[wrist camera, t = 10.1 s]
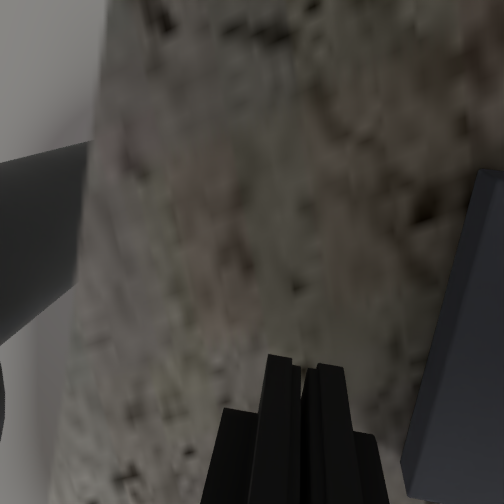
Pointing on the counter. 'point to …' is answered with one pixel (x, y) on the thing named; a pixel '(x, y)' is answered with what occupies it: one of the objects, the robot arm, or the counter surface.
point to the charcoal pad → (465, 369)
